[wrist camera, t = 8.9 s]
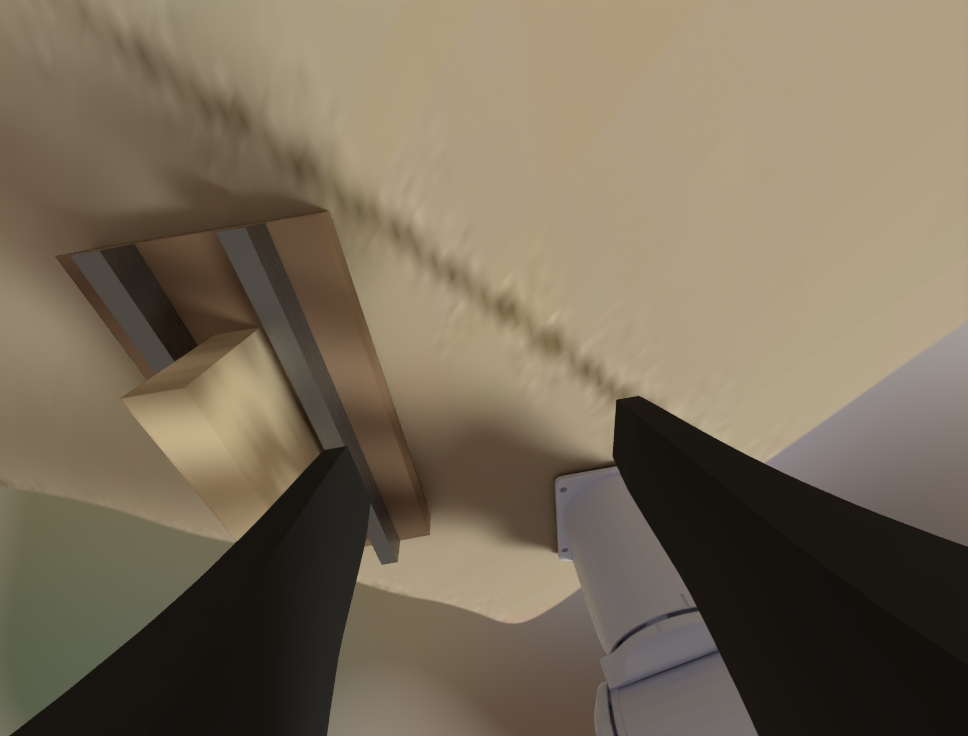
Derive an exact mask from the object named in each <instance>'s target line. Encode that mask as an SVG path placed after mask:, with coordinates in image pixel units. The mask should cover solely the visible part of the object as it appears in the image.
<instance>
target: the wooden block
mask: <svg viewBox="0 0 968 736" xmlns="http://www.w3.org/2000/svg"><path fill="white" fill-rule="evenodd" d="M120 400H121V401H122V402H123V403H124V404H125V406H126V407H127V408H128V409H129V411H130V412H131V413H132V414H133V415H134V417H135V418H136V419H137V420H138V422H139V423H140V424H141V425H142V426H143V428H144V429H145V430H146V431H147V433H148V434H149V435H150V436H151V437H152V439H153V440H154V441H155V442H156V444H157V445H158V446H159V447H160V448H161V450H162V451H163V452H164V453H165V455H166V456H167V457H168V458H169V459H170V461H171V462H172V463H173V464H174V465H175V467H176V468H177V469H178V470H179V472H180V473H181V474H182V475H183V476H184V478H185V479H186V480H187V481H188V483H189V484H190V485H191V486H192V487H193V489H194V490H195V491H196V492H197V494H198V495H199V496H200V497H201V498H202V500H203V501H204V502H205V503H206V505H207V506H208V507H209V508H210V509H211V511H212V512H213V513H214V514H215V516H216V517H217V518H218V519H219V520H220V522H221V523H222V524H223V525H224V527H225V528H226V529H227V530H228V531H229V533H230V534H231V535H232V536H233V538H234V539H235V540H236V541H238V540H239V539H240V538H241V537H242V536H243V535H244V534H245V533H246V532H247V531H248V530H249V529H250V528H251V527H252V526H253V525H254V524H255V523H256V522H257V521H258V520H259V519H260V518H261V517H262V515H263V514H264V513H265V512H266V511H267V510H268V509H269V508H270V507H271V506H272V505H273V504H274V503H275V502H276V501H277V499H278V498H279V497H280V496H281V495H282V494H283V493H284V492H285V491H286V490H287V489H288V488H289V487H290V485H291V484H292V483H293V482H294V481H295V480H296V479H297V478H298V477H299V476H300V475H301V473H302V472H303V471H304V470H305V469H306V468H307V467H308V466H309V465H310V464H311V463H312V462H313V461H314V460H315V459H316V458H317V456H318V455H320V454H321V453H322V452H323V450H322V448H321V446H320V444H319V442H318V440H317V438H316V436H315V434H314V432H313V430H312V428H311V427H310V425H309V423H308V421H307V419H306V417H305V415H304V413H303V411H302V409H301V407H300V405H299V403H298V401H297V399H296V397H295V395H294V393H293V391H292V389H291V387H290V385H289V383H288V381H287V379H286V377H285V375H284V373H283V371H282V369H281V367H280V365H279V363H278V361H277V359H276V357H275V355H274V353H273V351H272V349H271V347H270V345H269V343H268V341H267V339H266V337H265V335H264V333H263V331H262V329H261V327H258V328H252V329H246V330H240V331H234V332H228V333H222V334H216V335H214V336H212V337H211V338H209V339H208V340H206V341H205V342H203V343H202V344H200V345H199V346H197V347H196V348H194V349H193V350H191V351H190V352H189V353H187V354H186V355H184V356H183V357H181V358H180V359H178V360H177V361H175V362H174V363H172V364H171V365H169V366H168V367H166V368H165V369H163V370H162V371H160V372H159V373H157V374H156V375H154V376H153V377H151V378H150V379H148V380H147V381H145V382H144V383H142V384H141V385H139V386H138V387H136V388H135V389H133V390H132V391H131V392H129V393H128V394H126V395H125V396H123V397H122V398H120Z"/></svg>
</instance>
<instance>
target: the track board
mask: <svg viewBox="0 0 968 736" xmlns="http://www.w3.org/2000/svg"><path fill="white" fill-rule="evenodd" d="M55 257H56V258H57V260H58V261H59V262H60V264H61V265H62V266H63V268H64V269H65V270H66V272H67V273H68V274H69V276H70V277H71V278H72V280H73V281H74V282H75V284H76V285H77V286H78V288H79V289H80V290H81V292H82V293H83V294H84V296H85V297H86V298H87V300H88V301H89V302H90V304H91V305H92V307H93V308H94V309H95V311H96V312H97V313H98V315H99V316H100V317H101V319H102V320H103V321H104V323H105V324H106V325H107V327H108V328H109V329H110V331H111V332H112V333H113V335H114V336H115V337H116V339H117V340H118V341H119V343H120V344H121V345H122V347H123V348H124V349H125V351H126V352H127V353H128V355H129V356H130V358H131V359H132V360H133V362H134V363H135V364H136V366H137V367H138V368H139V370H140V371H141V372H142V374H143V375H144V376H145V378H146V379H147V380H148V379H150V378H151V377H153V376H154V375H156V374H157V373H159V372H160V371H162V370H163V369H165V368H166V367H168V366H169V365H171V364H172V363H174V362H175V361H177V360H178V359H180V358H181V357H183V356H184V355H186V354H187V353H189V352H190V351H191V350H193V349H194V348H196V347H197V346H199V345H200V344H202V343H203V342H205V341H206V340H208V339H209V338H211V337H212V336H214V335H216V334H222V333H228V332H234V331H240V330H246V329H252V328H258V327H261V329H262V331H263V333H264V335H265V337H266V339H267V341H268V343H269V345H270V347H271V349H272V351H273V353H274V355H275V357H276V359H277V361H278V363H279V365H280V367H281V369H282V371H283V373H284V375H285V377H286V379H287V381H288V383H289V385H290V387H291V389H292V391H293V393H294V395H295V397H296V399H297V401H298V403H299V405H300V407H301V409H302V411H303V413H304V415H305V417H306V419H307V421H308V423H309V425H310V427H311V428H312V430H313V432H314V434H315V436H316V438H317V440H318V442H319V444H320V446H321V448H322V450H323V451H324V450H326V449H332V448H338V447H344V446H347V447H348V449H349V451H350V453H351V456H352V458H353V460H354V462H355V464H356V467H357V469H358V471H359V473H360V476H361V478H362V480H363V482H364V484H365V487H366V489H367V491H368V493H369V495H370V498H371V502H370V512H369V522H368V529H367V537H366V541H365V546H370V545H372V546H373V548H374V550H375V552H376V554H377V556H378V558H379V560H380V562H381V564H382V565H383V564H389V563H395V562H398V554H399V546H400V540H404V539H410V538H415V537H421V536H427V535H430V513H429V510H428V507H427V504H426V501H425V498H424V495H423V492H422V489H421V486H420V483H419V480H418V477H417V474H416V471H415V468H414V465H413V462H412V459H411V456H410V453H409V450H408V447H407V444H406V441H405V438H404V435H403V432H402V429H401V426H400V423H399V420H398V417H397V414H396V411H395V408H394V405H393V402H392V399H391V396H390V393H389V390H388V387H387V384H386V381H385V378H384V375H383V372H382V369H381V366H380V363H379V360H378V357H377V354H376V351H375V348H374V345H373V342H372V339H371V336H370V333H369V330H368V327H367V324H366V321H365V318H364V315H363V312H362V309H361V306H360V303H359V300H358V297H357V294H356V291H355V288H354V285H353V282H352V279H351V276H350V273H349V270H348V267H347V264H346V261H345V258H344V255H343V252H342V249H341V246H340V243H339V240H338V237H337V234H336V231H335V228H334V225H333V222H332V219H331V216H330V213H329V211H327V212H321V213H315V214H308V215H302V216H296V217H290V218H283V219H277V220H271V221H264V222H258V223H252V224H246V225H239V226H233V227H227V228H221V229H214V230H208V231H202V232H196V233H189V234H183V235H177V236H171V237H164V238H158V239H152V240H145V241H139V242H133V243H127V244H120V245H114V246H108V247H102V248H95V249H89V250H84V251H79V252H74V253H69V254H64V255H59V256H55Z"/></svg>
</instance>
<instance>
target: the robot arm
mask: <svg viewBox="0 0 968 736" xmlns="http://www.w3.org/2000/svg"><path fill="white" fill-rule="evenodd" d="M613 459H614V461H615V463H616V465H617V466H615V467H610V468H604V469H598V470H592V471H587V472H581V473H575V474H569V475H564V476H560V477H558V478H556V480H555V500H556V521H557V542H558V556H559V559H560V560H561V561H568V560H573V563H574V566H575V569H576V572H577V575H578V578H579V581H580V584H581V587H582V590H583V593H584V596H585V599H586V602H587V605H588V608H589V611H590V614H591V617H592V620H593V623H594V626H595V629H596V632H597V635H598V638H599V640H600V642H601V644H602V646H603V648H604V649H605V651H606V653H607V654H608V656H606V657H603V658H601V660H600V662H601V665H602V668H603V671H604V674H605V678H606V680H607V681H605V682H603V683H601V684H600V685H599V687H598V691H597V697H596V698H597V699H596V706H595V715H594V716H595V730H596V736H968V547H967V546H964V545H961V544H958V543H956V542H953V541H950V540H947V539H944V538H941V537H938V536H936V535H933V534H931V533H928V532H925V531H923V530H920V529H918V528H915V527H912V526H909V525H907V524H904V523H901V522H899V521H896V520H894V519H891V518H888V517H886V516H883V515H880V514H878V513H875V512H873V511H870V510H868V509H865V508H863V507H860V506H858V505H855V504H853V503H851V502H848V501H846V500H843V499H841V498H839V497H837V496H834V495H832V494H830V493H827V492H825V491H823V490H820V489H818V488H816V487H813V486H811V485H809V484H807V483H804V482H802V481H800V480H798V479H795V478H793V477H791V476H789V475H787V474H784V473H782V472H780V471H778V470H776V469H774V468H772V467H770V466H768V465H766V464H764V463H762V462H760V461H758V460H756V459H754V458H752V457H750V456H748V455H746V454H744V453H742V452H740V451H738V450H736V449H734V448H732V447H731V446H729V445H727V444H725V443H723V442H721V441H719V440H717V439H716V438H714V437H712V436H710V435H708V434H706V433H705V432H703V431H701V430H699V429H697V428H696V427H694V426H692V425H690V424H689V423H687V422H685V421H683V420H682V419H680V418H678V417H676V416H675V415H673V414H671V413H669V412H668V411H666V410H664V409H662V408H660V407H659V406H657V405H655V404H653V403H652V402H650V401H648V400H646V399H644V398H642V397H640V396H636V397H630V398H624V399H618V400H616V413H615V428H614V442H613ZM370 502H371V498H370V495H369V493H368V491H367V489H366V487H365V484H364V482H363V480H362V478H361V476H360V473H359V471H358V469H357V467H356V464H355V462H354V460H353V458H352V456H351V453H350V451H349V449H348V447H347V446H344V447H338V448H332V449H326V450H324V451H323V452H322V453H321V454H320V455H318V456H317V458H316V459H315V460H314V461H313V462H312V463H311V464H310V465H309V466H308V467H307V468H306V469H305V470H304V471H303V472H302V473H301V475H300V476H299V477H298V478H297V479H296V480H295V481H294V482H293V483H292V484H291V485H290V487H289V488H288V489H287V490H286V491H285V492H284V493H283V494H282V495H281V496H280V497H279V498H278V499H277V501H276V502H275V503H274V504H273V505H272V506H271V507H270V508H269V509H268V510H267V511H266V512H265V513H264V514H263V515H262V517H261V518H260V519H259V520H258V521H257V522H256V523H255V524H254V525H253V526H252V527H251V528H250V529H249V530H248V531H247V532H246V533H245V534H244V535H243V536H242V537H241V538H240V539H239V540H238V541H237V542H236V543H235V544H234V545H233V546H232V547H231V548H230V549H229V550H228V551H227V552H226V553H225V554H224V555H223V556H222V557H221V558H220V559H219V560H218V561H217V562H216V563H215V564H214V565H213V566H212V567H211V568H210V569H209V570H208V571H207V572H206V573H204V574H203V576H201V577H200V578H199V579H198V580H197V581H196V582H195V583H194V584H193V585H192V586H190V588H188V589H187V590H186V591H185V592H184V593H183V594H182V595H181V596H179V597H178V598H177V599H176V600H175V601H174V602H173V603H172V604H170V605H169V606H168V607H167V608H166V609H165V610H164V611H163V612H161V613H160V614H159V615H158V616H157V617H156V618H155V619H154V620H152V621H151V622H150V623H149V624H148V625H147V626H146V627H144V628H143V629H142V630H141V631H140V632H138V634H136V635H135V636H134V637H132V638H131V639H130V640H129V641H127V642H126V643H125V644H124V645H123V646H121V647H120V648H119V649H118V650H117V651H115V652H114V653H113V654H112V655H111V656H109V657H108V658H107V659H106V660H104V661H103V662H102V663H101V664H99V665H98V666H97V667H96V668H95V669H93V670H92V671H91V672H90V673H89V674H87V675H86V676H85V677H84V678H83V679H81V680H80V681H79V682H78V683H76V684H75V685H74V686H73V687H71V688H70V689H69V690H68V691H67V692H65V693H64V694H63V695H62V696H60V697H59V698H58V699H56V700H55V701H54V702H53V703H51V704H50V705H49V706H47V707H46V708H45V709H44V710H42V711H41V712H40V713H38V714H37V715H36V716H34V717H33V718H32V719H31V720H29V721H28V722H27V723H26V724H24V725H23V726H21V727H20V728H19V729H18V730H16V731H15V732H14V733H12V734H11V735H10V736H327V730H328V723H329V715H330V709H331V702H332V696H333V689H334V683H335V675H336V669H337V663H338V657H339V652H340V647H341V643H342V637H343V633H344V629H345V625H346V621H347V616H348V612H349V608H350V604H351V600H352V596H353V592H354V588H355V584H356V580H357V576H358V571H359V567H360V563H361V559H362V554H363V550H364V546H365V541H366V537H367V529H368V522H369V512H370Z"/></svg>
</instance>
